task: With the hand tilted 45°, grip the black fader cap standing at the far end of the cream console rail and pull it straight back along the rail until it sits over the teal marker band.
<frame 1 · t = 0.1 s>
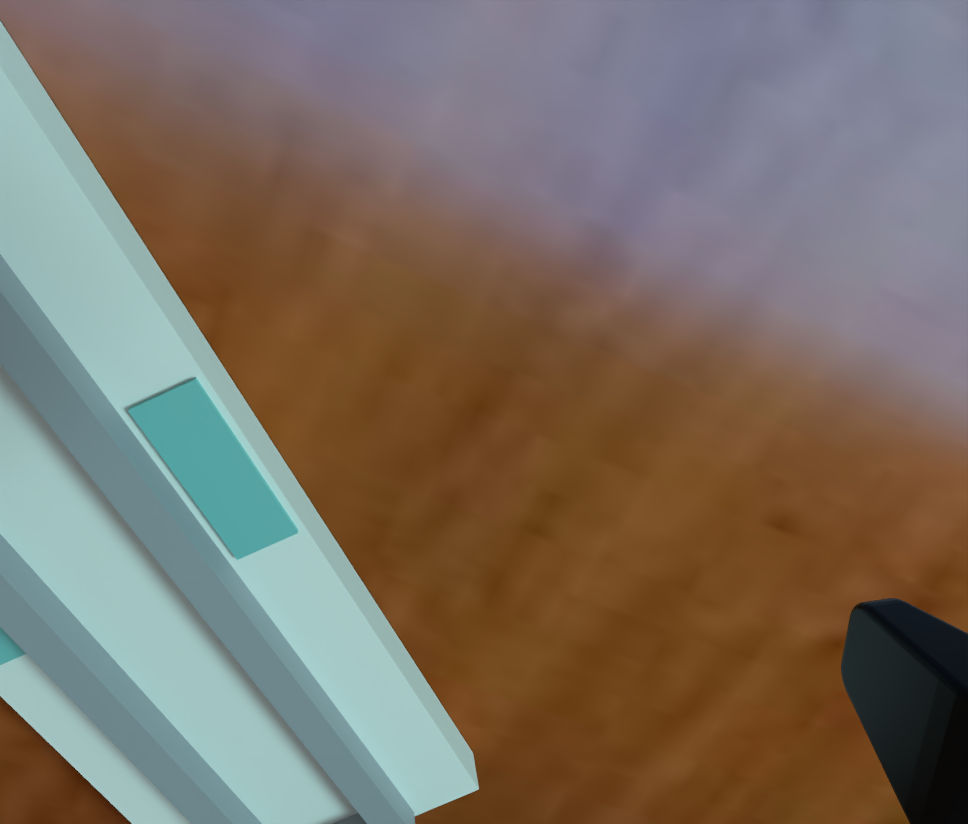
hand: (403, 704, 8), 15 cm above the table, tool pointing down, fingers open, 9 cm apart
console: (108, 515, 23), on the table
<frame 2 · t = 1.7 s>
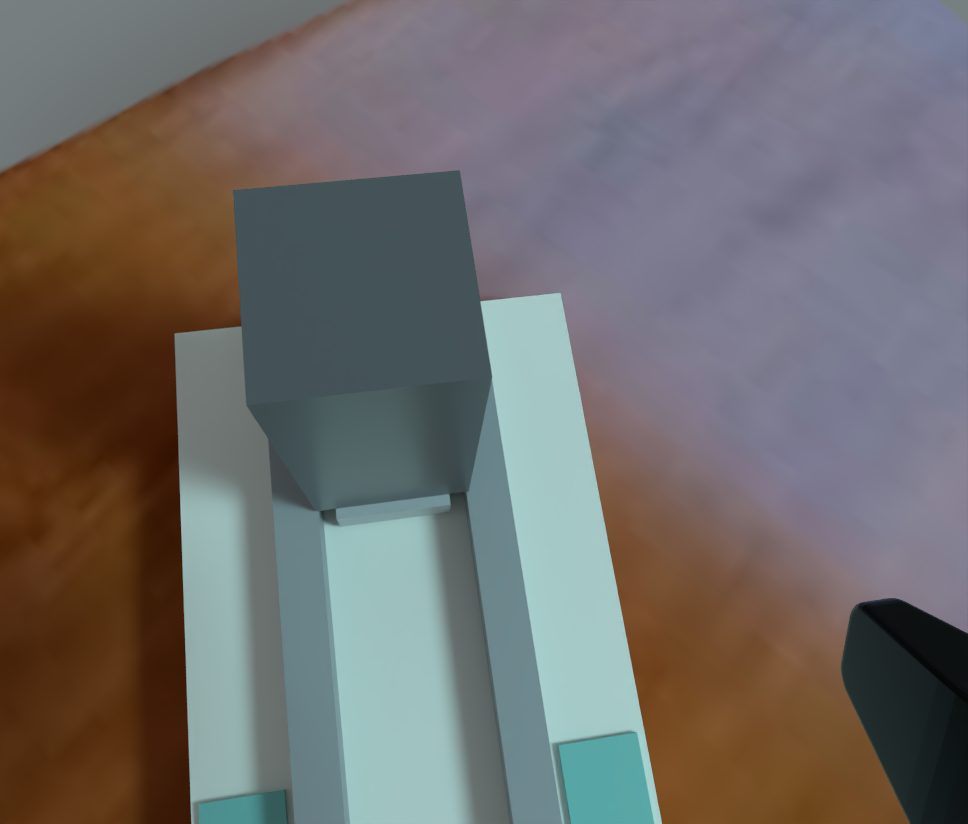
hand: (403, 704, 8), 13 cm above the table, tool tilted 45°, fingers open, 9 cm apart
fader: (376, 379, 16), point 6 cm above the table, slide at 10.5 cm
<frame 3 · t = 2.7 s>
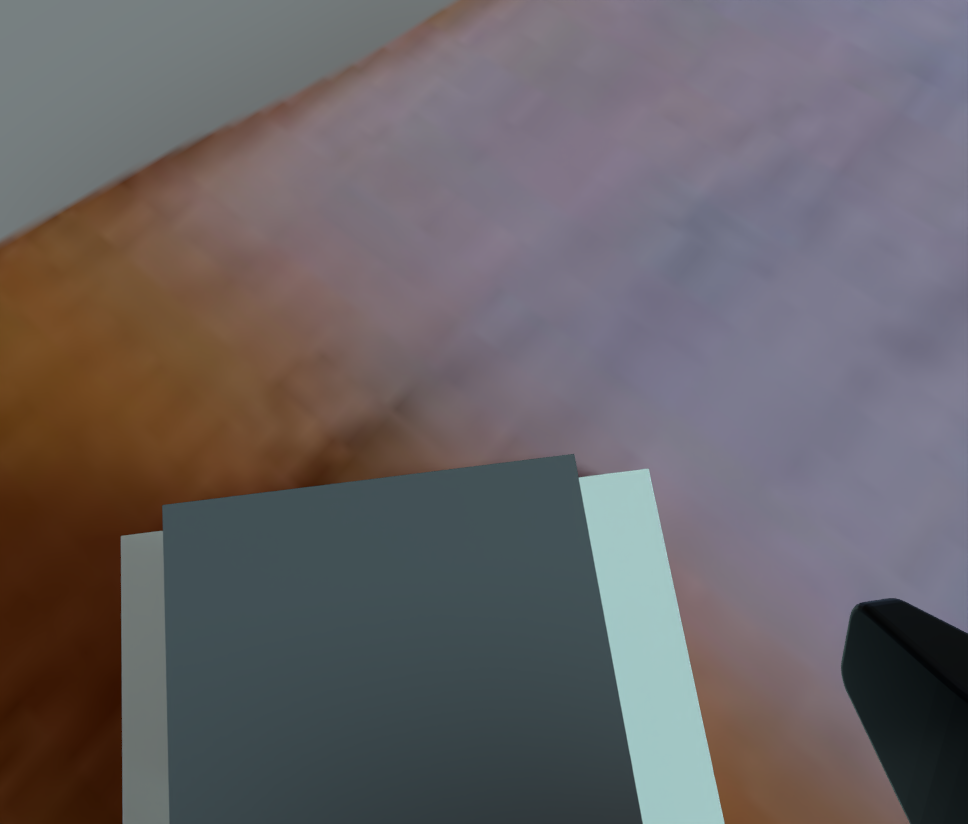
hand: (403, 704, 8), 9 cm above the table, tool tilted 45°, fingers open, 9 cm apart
fader: (409, 694, 10), point 6 cm above the table, slide at 10.5 cm
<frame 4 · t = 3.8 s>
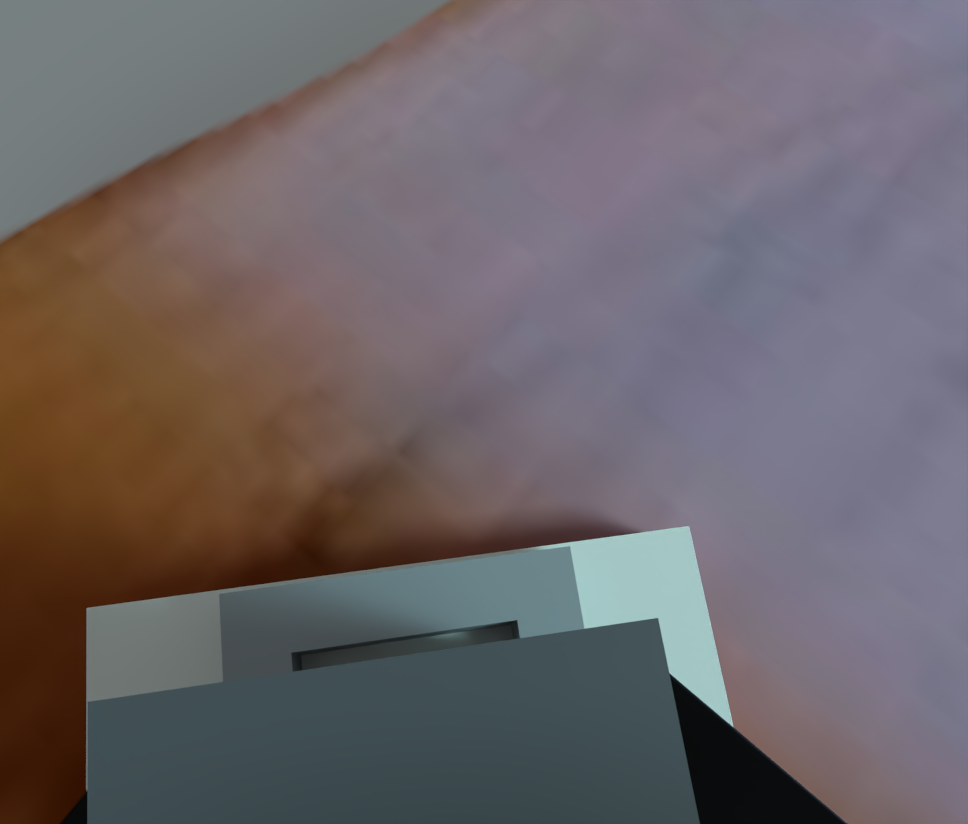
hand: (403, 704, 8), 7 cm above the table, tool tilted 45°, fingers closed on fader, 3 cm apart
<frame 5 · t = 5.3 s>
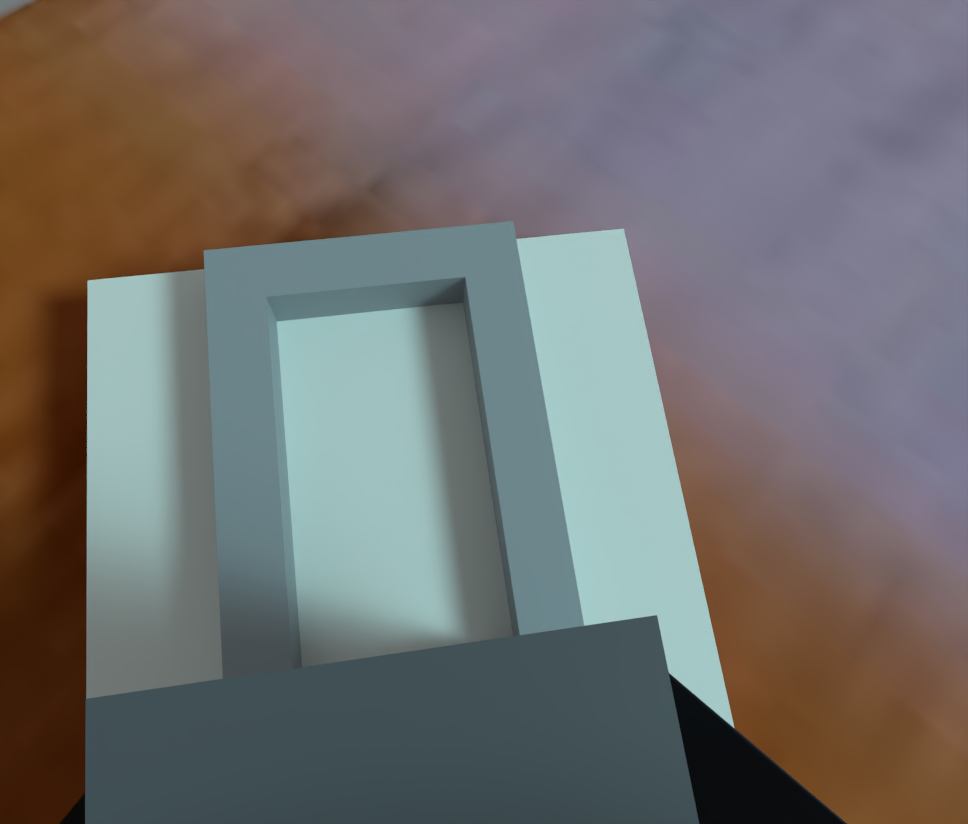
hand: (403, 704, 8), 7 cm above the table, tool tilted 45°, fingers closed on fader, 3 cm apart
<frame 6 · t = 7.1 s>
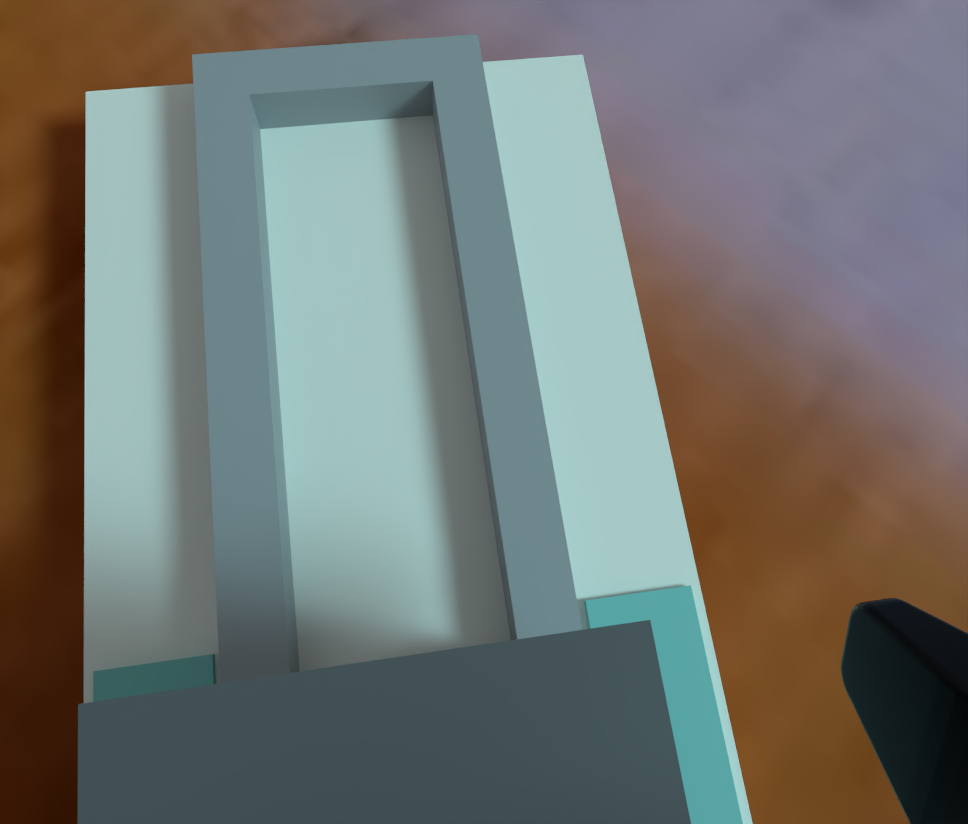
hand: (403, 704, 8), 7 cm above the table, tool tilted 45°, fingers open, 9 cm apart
console: (426, 815, 14), on the table
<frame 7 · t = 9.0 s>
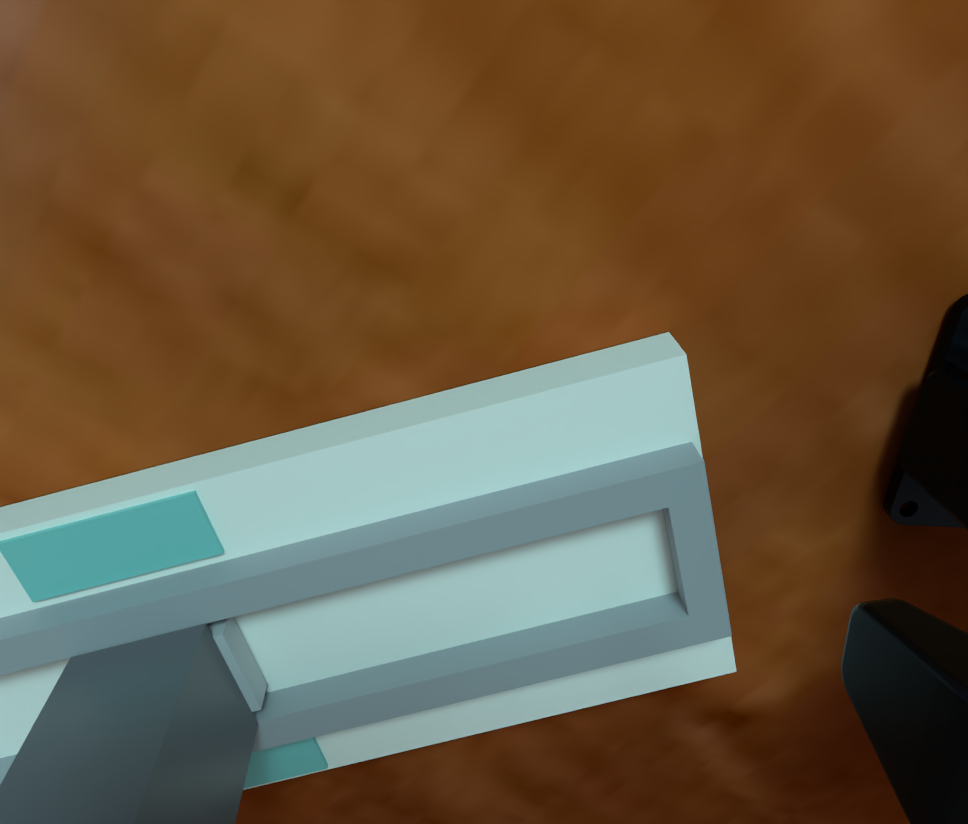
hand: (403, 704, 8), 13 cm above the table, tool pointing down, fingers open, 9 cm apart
fader: (125, 803, 18), point 6 cm above the table, slide at 0.5 cm
console: (209, 620, 23), on the table
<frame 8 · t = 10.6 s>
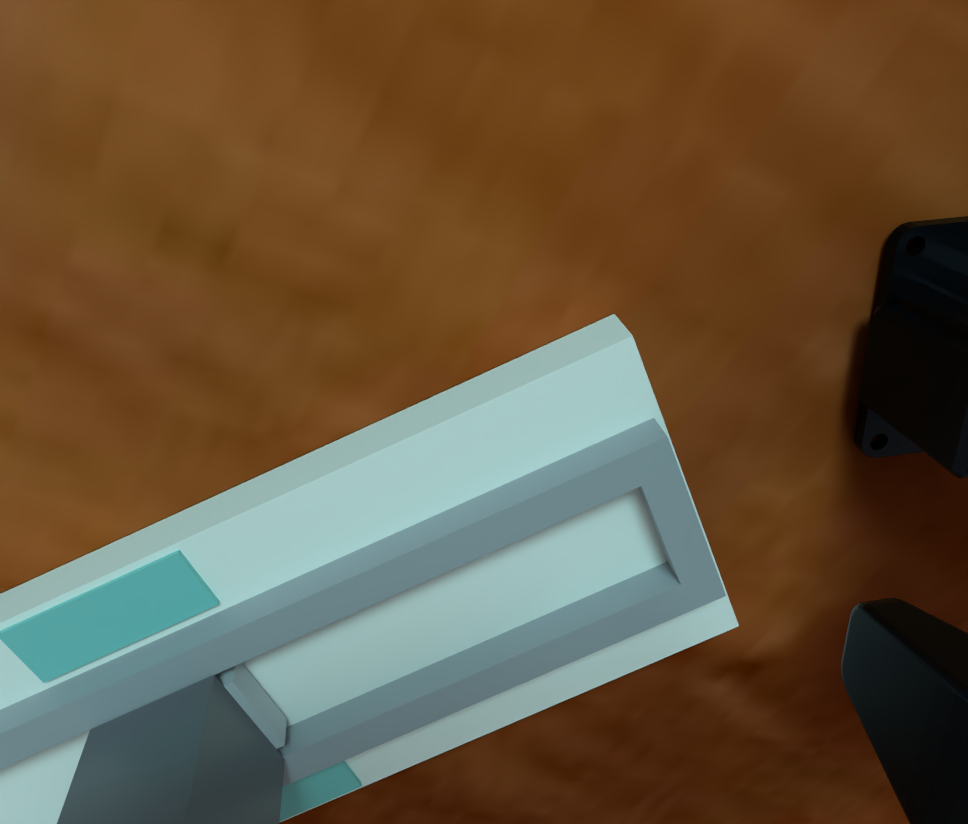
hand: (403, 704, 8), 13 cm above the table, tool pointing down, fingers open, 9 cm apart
console: (221, 666, 24), on the table
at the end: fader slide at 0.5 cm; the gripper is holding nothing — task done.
